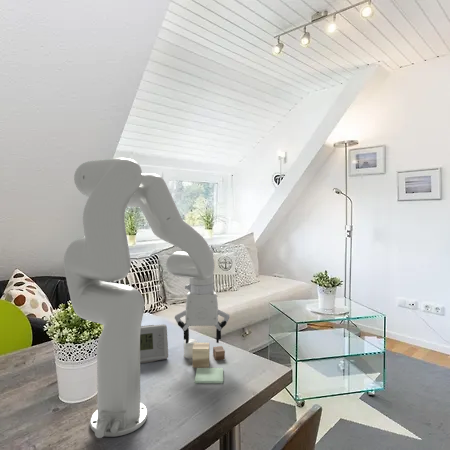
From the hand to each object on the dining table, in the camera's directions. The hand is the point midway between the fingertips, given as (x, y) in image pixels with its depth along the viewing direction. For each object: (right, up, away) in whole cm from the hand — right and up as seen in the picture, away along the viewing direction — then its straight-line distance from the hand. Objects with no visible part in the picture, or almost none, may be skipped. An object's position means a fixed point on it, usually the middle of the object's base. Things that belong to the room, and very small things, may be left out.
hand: (202, 341), depth 109 cm
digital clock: (-20, -7, +2) cm, 21 cm away
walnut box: (+5, -7, +5) cm, 10 cm away
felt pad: (+3, -7, -8) cm, 11 cm away
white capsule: (-4, -7, +6) cm, 10 cm away
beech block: (0, -7, 0) cm, 7 cm away
